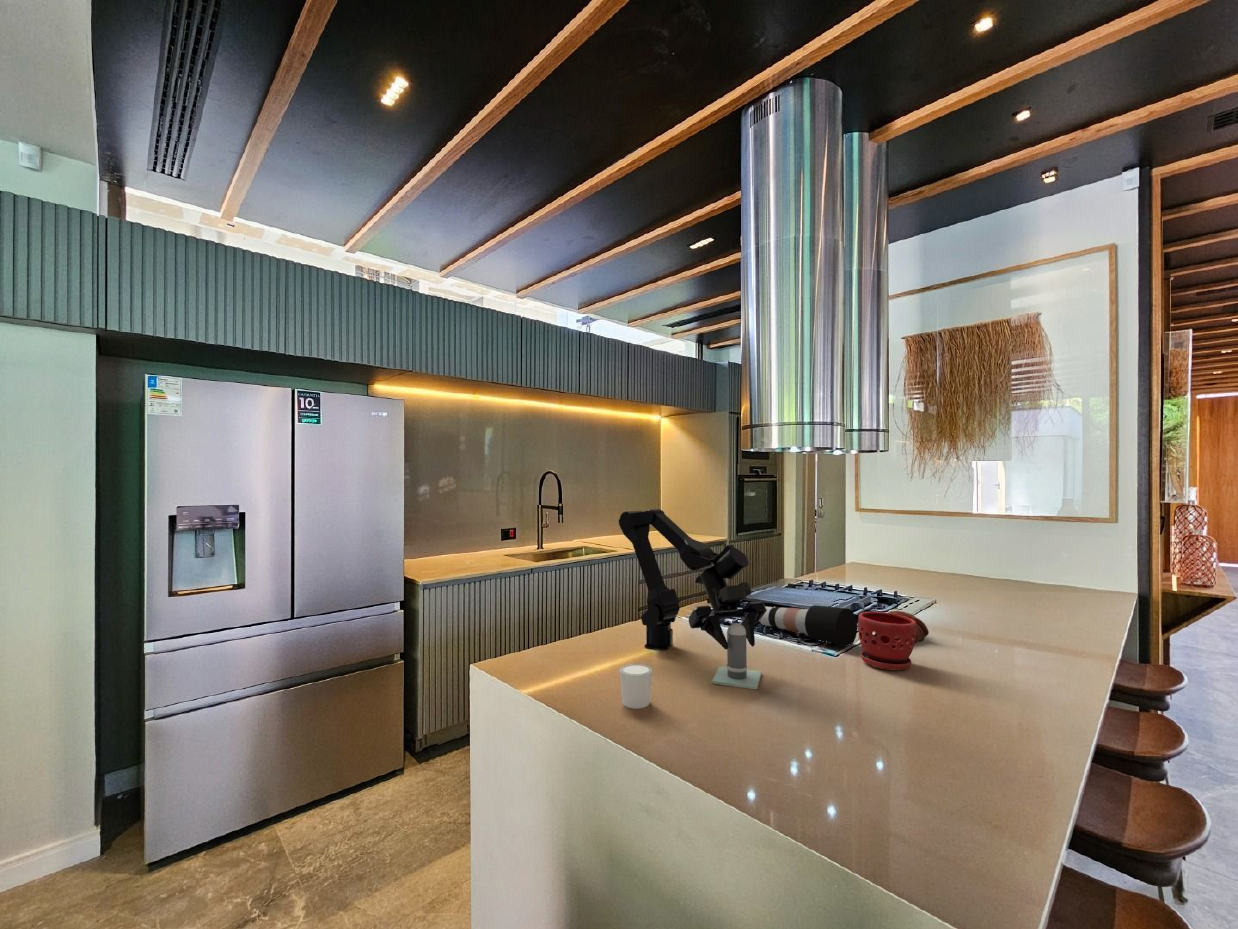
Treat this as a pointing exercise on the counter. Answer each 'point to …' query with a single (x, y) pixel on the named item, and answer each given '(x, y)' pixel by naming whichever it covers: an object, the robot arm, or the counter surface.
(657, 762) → the counter surface
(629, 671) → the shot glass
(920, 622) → the pastry
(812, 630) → the striped bottle
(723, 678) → the coaster
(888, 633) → the plant pot
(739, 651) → the cylinder
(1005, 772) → the counter surface
